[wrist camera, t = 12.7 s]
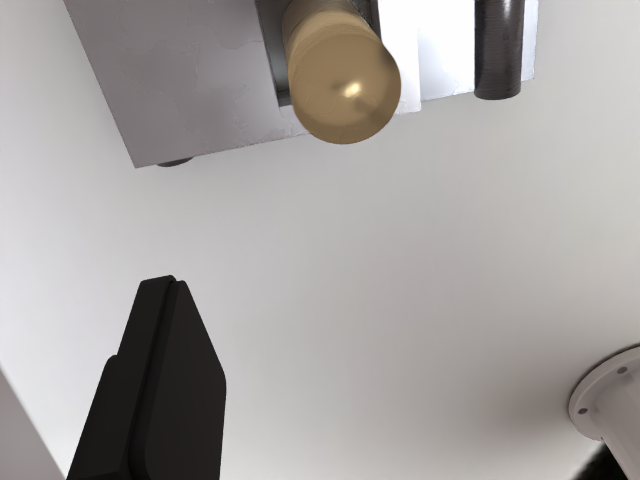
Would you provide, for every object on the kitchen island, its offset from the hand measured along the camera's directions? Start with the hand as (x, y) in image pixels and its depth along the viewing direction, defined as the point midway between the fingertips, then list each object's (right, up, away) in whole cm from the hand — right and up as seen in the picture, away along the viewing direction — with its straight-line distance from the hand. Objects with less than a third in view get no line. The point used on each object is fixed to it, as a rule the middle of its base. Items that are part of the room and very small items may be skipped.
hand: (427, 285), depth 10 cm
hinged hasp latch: (-2, +12, +16) cm, 20 cm away
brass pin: (-2, +12, +16) cm, 20 cm away
